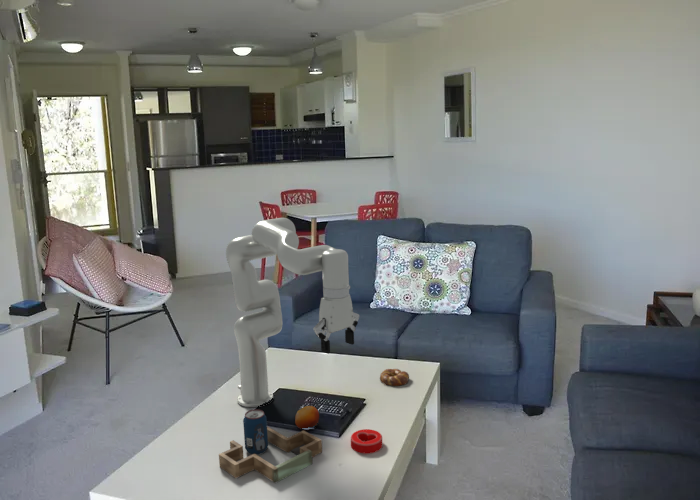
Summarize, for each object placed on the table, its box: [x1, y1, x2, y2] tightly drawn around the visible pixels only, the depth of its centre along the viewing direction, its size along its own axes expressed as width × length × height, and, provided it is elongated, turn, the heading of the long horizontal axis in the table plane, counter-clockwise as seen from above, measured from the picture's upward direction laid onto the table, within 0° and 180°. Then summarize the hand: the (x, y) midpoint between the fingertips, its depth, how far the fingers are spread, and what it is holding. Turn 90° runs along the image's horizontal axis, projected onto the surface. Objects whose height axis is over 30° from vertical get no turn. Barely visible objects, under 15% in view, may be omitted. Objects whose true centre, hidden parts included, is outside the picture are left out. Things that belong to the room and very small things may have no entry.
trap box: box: [218, 426, 323, 484], centre depth 182 cm, size 22×26×4 cm
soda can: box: [242, 408, 269, 456], centre depth 186 cm, size 7×7×12 cm
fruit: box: [294, 405, 320, 430], centre depth 200 cm, size 8×8×8 cm
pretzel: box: [379, 368, 410, 387], centre depth 234 cm, size 12×11×4 cm
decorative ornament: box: [350, 428, 383, 455], centre depth 189 cm, size 10×10×3 cm
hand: (337, 347), depth 183 cm, fingers open, 9 cm apart
